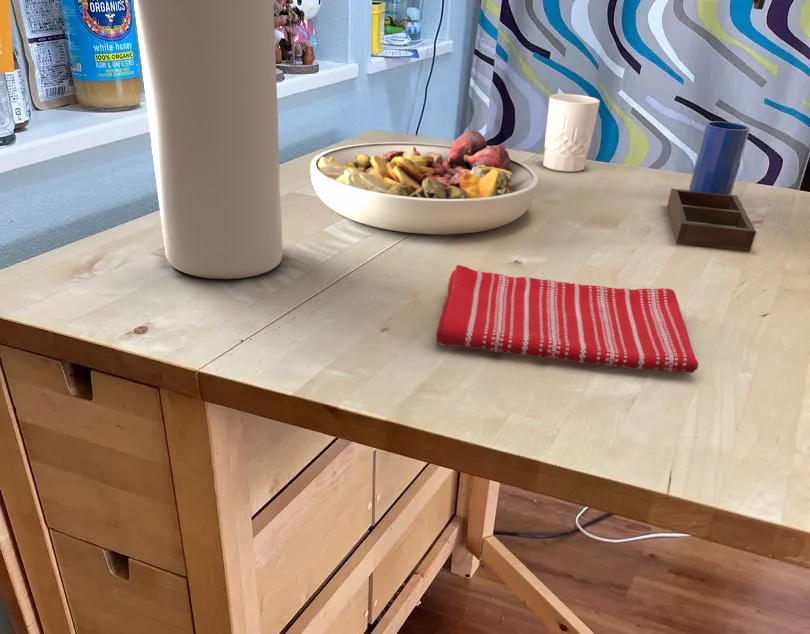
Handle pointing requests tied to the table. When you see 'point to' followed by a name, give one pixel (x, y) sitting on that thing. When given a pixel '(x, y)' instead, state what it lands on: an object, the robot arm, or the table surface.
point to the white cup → (569, 131)
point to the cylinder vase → (214, 132)
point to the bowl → (425, 185)
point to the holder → (710, 220)
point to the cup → (719, 157)
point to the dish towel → (566, 321)
